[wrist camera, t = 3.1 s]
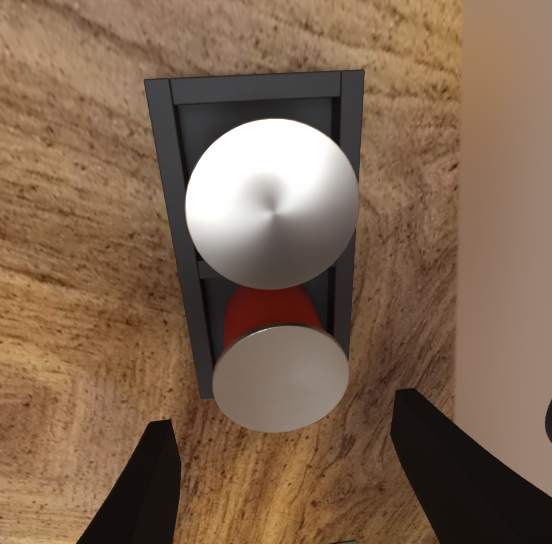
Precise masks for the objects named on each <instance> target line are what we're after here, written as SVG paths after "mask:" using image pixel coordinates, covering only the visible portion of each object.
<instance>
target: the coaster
mask: <svg viewBox="0 0 552 544" xmlns="http://www.w3.org/2000/svg"><path fill="white" fill-rule="evenodd" d="M338 544H357V541H350V542H344V543H338Z"/></svg>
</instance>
